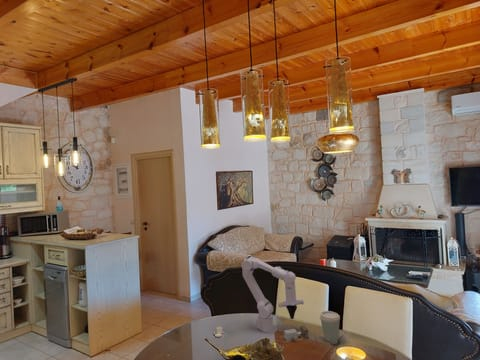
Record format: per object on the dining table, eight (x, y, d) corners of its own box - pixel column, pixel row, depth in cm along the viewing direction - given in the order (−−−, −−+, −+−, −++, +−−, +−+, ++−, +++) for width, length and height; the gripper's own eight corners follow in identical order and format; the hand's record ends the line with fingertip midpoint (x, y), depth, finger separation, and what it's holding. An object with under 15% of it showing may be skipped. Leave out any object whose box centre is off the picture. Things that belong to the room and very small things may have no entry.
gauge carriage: (289, 343, 178) (288, 335, 178) (284, 337, 185) (283, 330, 185) (304, 340, 181) (304, 332, 181) (299, 335, 187) (299, 328, 187)
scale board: (279, 348, 176) (278, 336, 176) (271, 339, 187) (271, 328, 188) (311, 343, 180) (310, 331, 180) (301, 334, 192) (301, 323, 192)
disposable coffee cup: (344, 339, 182) (342, 311, 183) (338, 348, 173) (337, 318, 174) (324, 336, 188) (323, 309, 188) (318, 344, 178) (316, 315, 179)
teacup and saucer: (219, 339, 192) (219, 332, 192) (209, 336, 197) (208, 329, 197) (229, 333, 199) (229, 326, 199) (219, 330, 204) (218, 324, 204)
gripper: (281, 297, 186) (282, 322, 186) (305, 294, 190) (306, 319, 189) (276, 294, 193) (278, 318, 193) (300, 291, 197) (301, 314, 196)
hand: (292, 318), depth 192 cm, fingers closed
